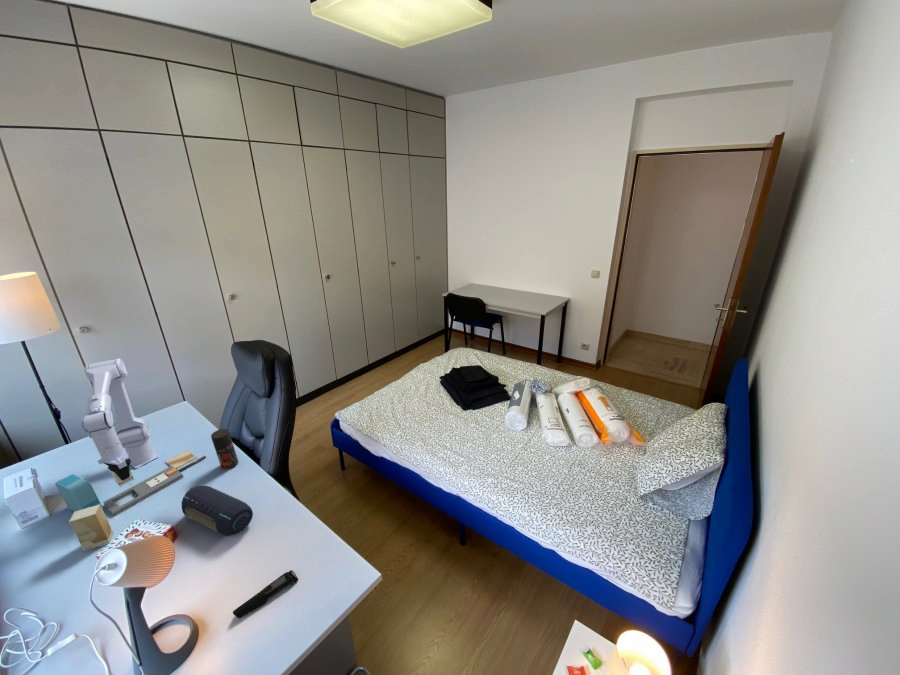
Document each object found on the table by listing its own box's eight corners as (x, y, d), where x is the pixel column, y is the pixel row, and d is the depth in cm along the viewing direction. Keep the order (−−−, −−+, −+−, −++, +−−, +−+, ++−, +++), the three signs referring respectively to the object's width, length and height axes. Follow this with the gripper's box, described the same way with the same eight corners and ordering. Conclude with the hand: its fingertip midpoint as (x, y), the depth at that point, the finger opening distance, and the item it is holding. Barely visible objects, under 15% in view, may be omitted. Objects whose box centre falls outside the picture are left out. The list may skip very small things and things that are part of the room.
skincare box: (83, 552, 109) (66, 522, 105) (89, 540, 113) (72, 511, 108) (111, 543, 112) (95, 513, 107) (115, 532, 115) (100, 503, 111)
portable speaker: (180, 520, 119) (171, 497, 116) (209, 498, 128) (201, 476, 124) (231, 547, 110) (223, 523, 106) (259, 521, 118) (252, 498, 114)
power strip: (104, 505, 126) (102, 500, 125) (200, 453, 150) (198, 449, 149) (114, 516, 121) (111, 511, 121) (211, 461, 145) (209, 457, 145)
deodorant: (241, 459, 146) (232, 429, 140) (232, 470, 140) (221, 438, 135) (228, 459, 146) (218, 428, 141) (217, 469, 141) (207, 438, 135)
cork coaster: (165, 462, 145) (165, 461, 145) (187, 451, 152) (187, 450, 152) (174, 469, 141) (174, 469, 141) (196, 457, 148) (196, 457, 147)
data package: (104, 509, 124) (90, 482, 120) (87, 519, 120) (72, 492, 116) (85, 499, 129) (70, 472, 124) (68, 508, 125) (53, 481, 120)
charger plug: (115, 482, 126) (109, 468, 124) (130, 475, 129) (123, 461, 127) (120, 487, 124) (113, 473, 122) (134, 479, 127) (128, 466, 125)
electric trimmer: (233, 614, 92) (230, 606, 91) (294, 571, 102) (291, 564, 101) (237, 625, 90) (234, 617, 88) (299, 581, 99) (297, 573, 98)
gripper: (85, 443, 121) (101, 475, 126) (100, 459, 114) (116, 492, 119) (112, 432, 127) (126, 463, 132) (128, 446, 119) (142, 478, 124)
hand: (123, 476), depth 126 cm, fingers closed on charger plug, 4 cm apart
